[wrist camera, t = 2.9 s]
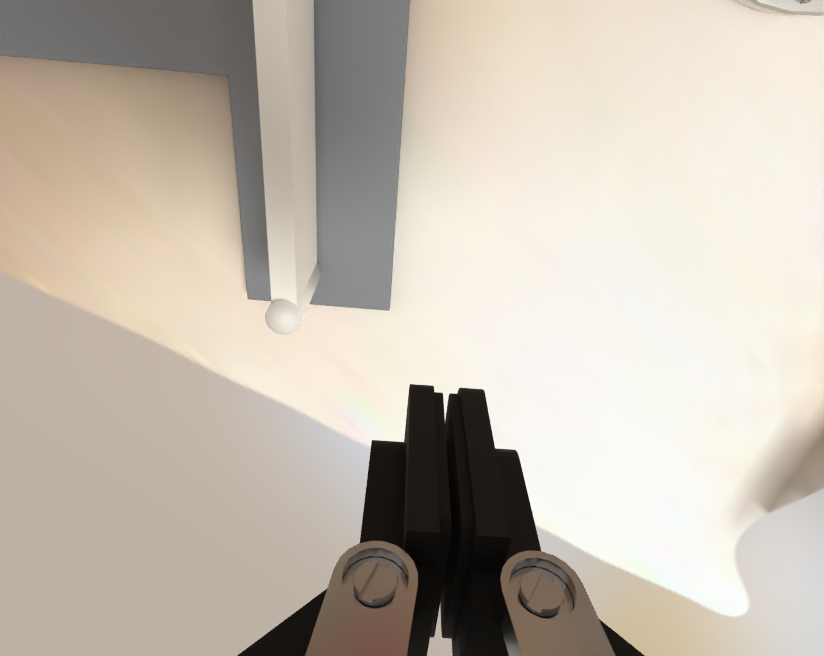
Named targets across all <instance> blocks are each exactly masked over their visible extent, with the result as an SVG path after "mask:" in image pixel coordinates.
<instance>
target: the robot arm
mask: <svg viewBox="0 0 824 656" xmlns="http://www.w3.org/2000/svg"><path fill="white" fill-rule="evenodd" d="M733 1H736V2H738V3H740V4H743V5H745V6H747V7H750V8H752V9H755V10H757V11H759V12H766V13H772V14H779V15H785V16H815V15H824V0H733ZM440 604H441V628H442V637H443V638H452V652H453V656H644V655H643V654H642V653H641V652H639V651H638V650H637V649H635V648H634V647H633V646H632V645H631V644H629V643H628V642H627V641H625V640H624V639H623V638H622V637H620V636H619V635H618V634H617V633H616V632H614V631H613V630H612V629H611V628H609V627H608V626H607V625H605V624H604V623H603V622H602V621H601V620H599V618H598V616H597V614H596V612H595V610H594V607H593V605H592V603H591V601H590V599H589V597H588V595H587V592H586V590H585V588H584V586H583V583H582V582H581V580H580V579H579V577H578V576H577V574H576V572H575V571H574V570H573V569H571V568H570V567H569V566H568V565H567V564H566V563H565V562H564V561H562V560H560V559H559V558H557V557H555V556H554V555H551V554H547V553H545V552H542V551H541V548H540V544H539V540H538V535H537V531H536V527H535V523H534V519H533V514H532V510H531V506H530V502H529V498H528V493H527V489H526V485H525V481H524V476H523V472H522V468H521V464H520V460H519V456H518V453H517V452H516V450H508V449H495V446H494V441H493V435H492V430H491V425H490V419H489V414H488V408H487V403H486V397H485V392H484V390H483V389H469V388H459V390H458V394H449V399H448V406H447V413H446V420H445V419H444V404H443V393H436V392H434V386H427V385H413V384H410V387H409V397H408V407H407V418H406V429H405V439H404V442H391V441H377V440H372V444H371V452H370V461H369V470H368V479H367V487H366V495H365V504H364V512H363V522H362V530H361V538H360V543H359V544H357V545H356V546H353V547H352V548H350V549H348V550H347V551H346V552H345V553H344V554H343V555H342V556H341V557H340V558H339V560H338V562H337V564H336V566H335V568H334V570H333V573H332V576H331V579H330V582H329V586H328V588H327V589H326V590H325V591H323V592H322V593H321V594H319V595H318V596H317V597H315V598H314V599H313V600H311V601H310V602H309V603H307V604H306V605H305V606H303V607H302V608H301V609H299V610H298V611H296V612H295V613H294V614H293V615H291V616H290V617H288V618H287V619H286V620H284V621H283V622H282V623H280V624H279V625H278V626H276V627H275V628H274V629H272V630H271V631H270V632H268V633H267V634H266V635H264V636H263V637H262V638H261V639H259V640H258V641H256V642H255V643H254V644H252V645H251V646H250V647H248V648H247V649H246V650H244V651H243V652H242V653H240V654H239V655H238V656H427V651H428V645H429V639H430V637H434V635H435V629H436V623H437V618H438V611H439V606H440Z"/></svg>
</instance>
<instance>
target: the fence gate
mask: <svg viewBox="0 0 824 656" xmlns="http://www.w3.org/2000/svg"><path fill="white" fill-rule="evenodd" d="M253 16H254V32H255V48H256V64H257V80H258V96H259V112H260V128H261V144H262V160H263V176H264V192H265V208H266V224H267V240H268V256H269V272H270V288H271V304H270V306H269V308H268V310H267V312H266V314H265V320H266V323H267V325H268V327H269V328H270V329H271V330H272V331H274V332H276V333H278V334H282V335H289V334H292V333H294V332H296V331H297V330H298V329H299V327H300V325H301V322H302V320H303V318H304V315H305V313H306V310H307V308H308V306H309V303H310V301H311V299H312V296H313V294H314V291H315V289H316V287H317V284H318V282H319V280H320V277H321V268H320V266H319V264H318V263H317V219H316V142H315V66H314V0H253Z"/></svg>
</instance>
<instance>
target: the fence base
mask: <svg viewBox="0 0 824 656" xmlns="http://www.w3.org/2000/svg"><path fill="white" fill-rule="evenodd" d="M409 5H410V0H314V66H315V142H316V219H317V263H318V264H319V266H320V268H321V277H320V280H319V282H318V284H317V287H316V289H315V291H314V294H313V296H312V299H311V301H310V303H309V304H314V305H326V306H339V307H351V308H363V309H376V310H388V311H389V309H390V297H391V282H392V267H393V251H394V236H395V220H396V205H397V190H398V174H399V159H400V143H401V128H402V113H403V97H404V82H405V66H406V51H407V36H408V20H409ZM0 55H2V56H14V57H25V58H36V59H48V60H59V61H70V62H81V63H93V64H104V65H115V66H127V67H138V68H149V69H161V70H172V71H183V72H195V73H206V74H217V75H228V79H229V90H230V102H231V113H232V124H233V136H234V147H235V159H236V170H237V182H238V193H239V204H240V216H241V227H242V239H243V250H244V261H245V273H246V284H247V296H248V299H251V300H264V301H271V288H270V272H269V256H268V240H267V224H266V208H265V192H264V176H263V160H262V144H261V128H260V112H259V96H258V80H257V64H256V48H255V32H254V16H253V0H0Z"/></svg>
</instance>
